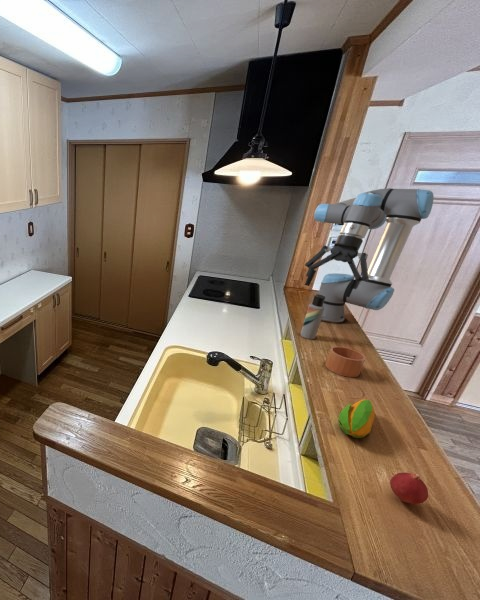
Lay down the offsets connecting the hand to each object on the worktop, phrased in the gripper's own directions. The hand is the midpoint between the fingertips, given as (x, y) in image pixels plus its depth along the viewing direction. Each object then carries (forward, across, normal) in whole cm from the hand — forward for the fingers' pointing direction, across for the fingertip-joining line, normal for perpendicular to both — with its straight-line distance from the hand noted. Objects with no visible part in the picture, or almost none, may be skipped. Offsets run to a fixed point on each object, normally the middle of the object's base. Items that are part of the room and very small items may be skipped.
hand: (325, 290), depth 124 cm
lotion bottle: (+22, -6, +22) cm, 32 cm away
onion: (+40, +45, -45) cm, 75 cm away
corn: (+34, +29, -26) cm, 52 cm away
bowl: (+26, +14, +4) cm, 30 cm away
